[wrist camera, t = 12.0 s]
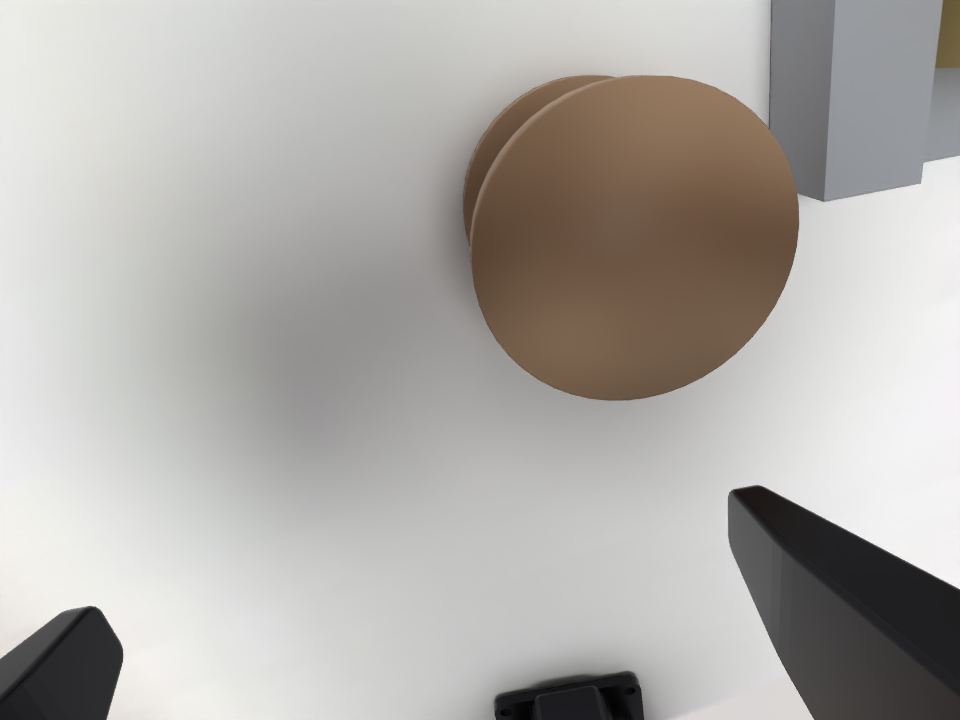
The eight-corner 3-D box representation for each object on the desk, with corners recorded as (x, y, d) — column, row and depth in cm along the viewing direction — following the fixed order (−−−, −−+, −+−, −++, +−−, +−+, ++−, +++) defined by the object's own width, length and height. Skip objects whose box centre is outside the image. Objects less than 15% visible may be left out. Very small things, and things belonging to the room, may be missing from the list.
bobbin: (697, 290, 20) (793, 370, 15) (485, 330, 20) (500, 424, 15) (690, 52, 17) (806, 41, 12) (441, 102, 17) (441, 114, 12)
